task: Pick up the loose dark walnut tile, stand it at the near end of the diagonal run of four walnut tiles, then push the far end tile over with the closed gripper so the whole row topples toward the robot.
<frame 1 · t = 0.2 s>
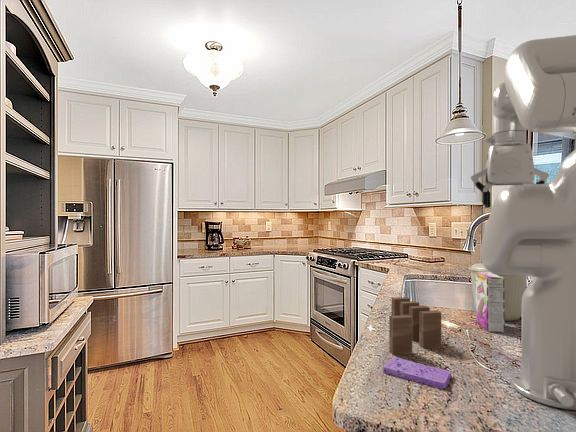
hand: (508, 207, 90), 36 cm above the worktop, tool pointing down, fingers open, 9 cm apart
tile 4: (409, 333, 102), on the worktop
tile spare: (400, 352, 87), on the worktop
sponges: (416, 378, 74), on the worktop
candy bar box: (489, 327, 109), on the worktop
tile 3: (419, 339, 97), on the worktop
canister: (497, 317, 120), on the worktop
tile 5: (400, 327, 108), on the worktop
tile 2: (430, 346, 91), on the worktop
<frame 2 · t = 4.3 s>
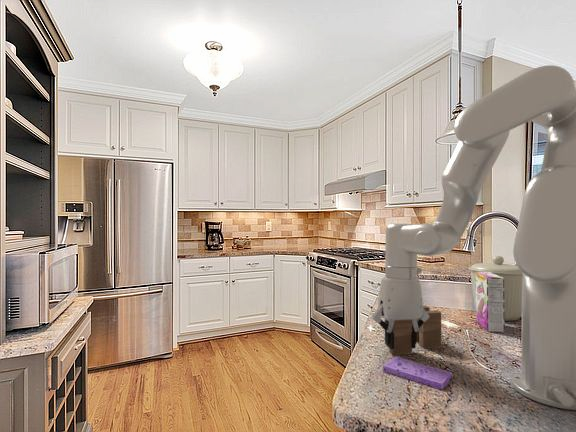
hand: (400, 346, 87), 2 cm above the worktop, tool pointing down, fingers closed on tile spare, 4 cm apart
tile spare: (400, 352, 87), on the worktop, touching gripper
everything else where it was.
when the fingers open (3 cm above the worktop, at t = 9.0 s): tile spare drops 1 cm, on the worktop.
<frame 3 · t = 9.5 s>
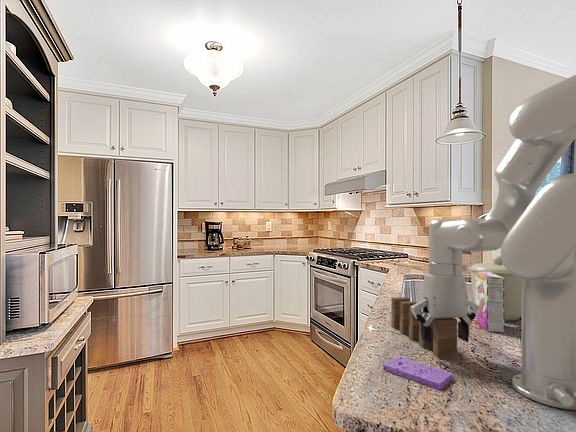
hand: (444, 340, 85), 4 cm above the worktop, tool pointing down, fingers open, 9 cm apart
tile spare: (445, 356, 85), on the worktop
everything else where it was.
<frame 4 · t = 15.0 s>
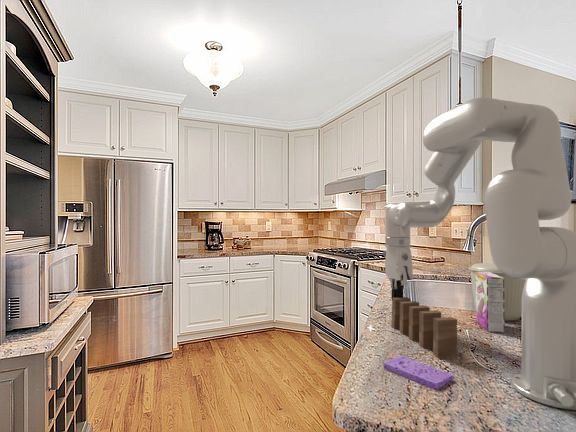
hand: (397, 301, 110), 7 cm above the worktop, tool pointing down, fingers closed
tile 5: (400, 327, 108), on the worktop, touching gripper
everything else where it was.
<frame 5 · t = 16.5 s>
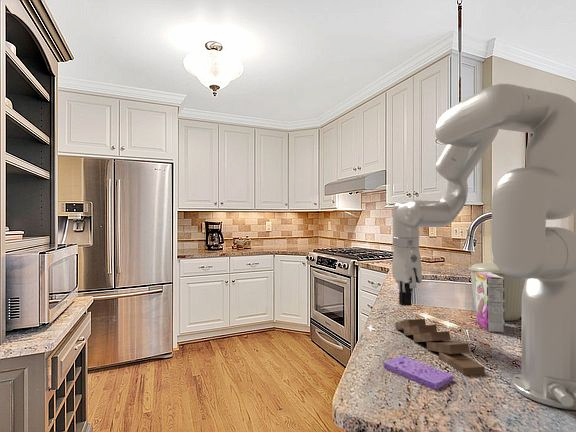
hand: (405, 304, 105), 8 cm above the worktop, tool pointing down, fingers closed
tile 4: (412, 331, 101), point 1 cm above the worktop, tilted 69°, touching tile 3, tile 5
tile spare: (448, 356, 84), on the worktop, tilted 90°
tile 3: (422, 338, 95), point 1 cm above the worktop, tilted 69°, touching tile 4
tile 5: (403, 325, 106), point 1 cm above the worktop, tilted 69°, touching tile 4
tile 2: (435, 345, 89), point 1 cm above the worktop, tilted 76°
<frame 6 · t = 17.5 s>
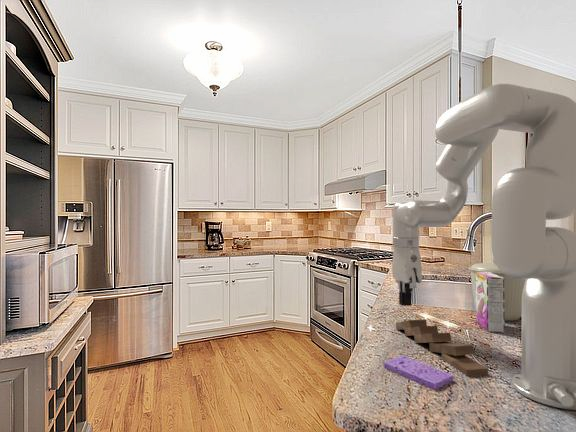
hand: (405, 304, 105), 8 cm above the worktop, tool pointing down, fingers closed
tile 4: (412, 331, 100), point 1 cm above the worktop, tilted 70°, touching tile 5
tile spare: (451, 357, 83), on the worktop, tilted 90°, touching tile 2
tile 3: (423, 338, 95), point 1 cm above the worktop, tilted 70°, touching tile 2
tile 2: (437, 346, 89), point 1 cm above the worktop, tilted 77°, touching tile 3, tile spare
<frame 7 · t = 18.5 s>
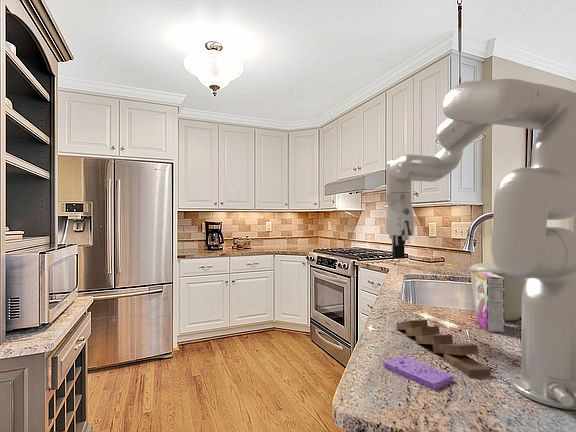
hand: (398, 258, 109), 21 cm above the worktop, tool pointing down, fingers closed
tile 4: (413, 332, 100), point 1 cm above the worktop, tilted 70°, touching tile 3, tile 5
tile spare: (453, 357, 83), on the worktop, tilted 90°
tile 3: (424, 339, 94), point 1 cm above the worktop, tilted 72°, touching tile 2, tile 4
tile 2: (441, 347, 87), point 1 cm above the worktop, tilted 74°, touching tile 3
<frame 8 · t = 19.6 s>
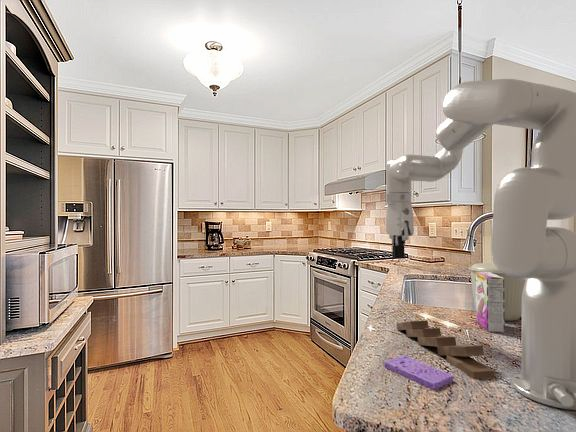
hand: (398, 258, 109), 21 cm above the worktop, tool pointing down, fingers closed
tile 4: (414, 332, 100), point 1 cm above the worktop, tilted 72°, touching tile 5
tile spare: (456, 359, 82), on the worktop, tilted 90°, touching tile 2
tile 3: (426, 340, 93), point 1 cm above the worktop, tilted 73°, touching tile 2
tile 2: (445, 350, 86), point 1 cm above the worktop, tilted 72°, touching tile 3, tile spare
at the end: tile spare tilted 90°; tile 3 tilted 73°; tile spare inside the target area (3.4 cm from its centre), on the worktop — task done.
